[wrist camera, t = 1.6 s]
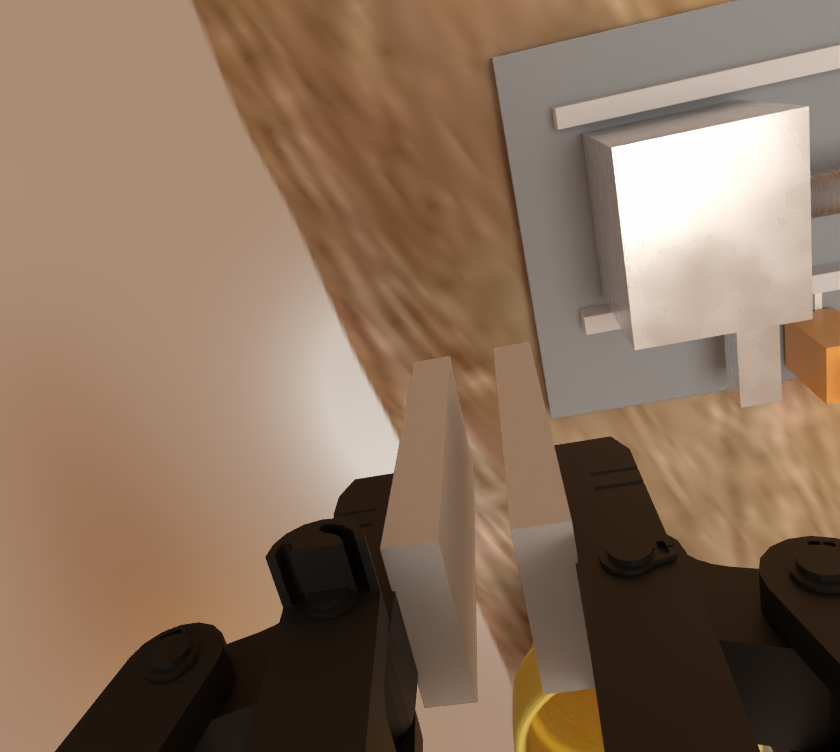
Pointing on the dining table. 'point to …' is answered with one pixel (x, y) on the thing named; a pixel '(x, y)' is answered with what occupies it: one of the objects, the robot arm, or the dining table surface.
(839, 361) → the orange t-shaped stamp
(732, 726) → the robot arm
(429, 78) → the dining table surface
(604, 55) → the grey slider board
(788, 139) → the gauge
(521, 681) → the plant pot
